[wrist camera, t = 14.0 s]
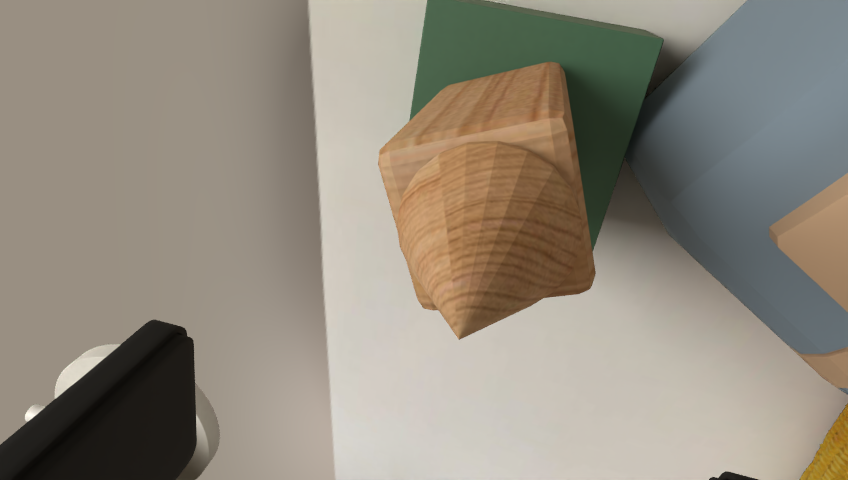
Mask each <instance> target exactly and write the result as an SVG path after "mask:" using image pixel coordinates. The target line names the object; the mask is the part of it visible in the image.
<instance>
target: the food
mask: <svg viewBox="0 0 848 480" xmlns="http://www.w3.org/2000/svg"><path fill="white" fill-rule="evenodd" d="M845 406H846V407H845V409H844V410H843V412H842V413H841V414H840V416H839V417H838V419H837V420H836V422H835V423H834V424H833V426H832V428H831V429H830V430H829V432H828V433H827V435H826V437H825V439H824V441H823V444H820V449H819V450H818V451H817V453H816V455H815V457H814V460H813V462H812V463H811V464H810V465H809V467H808V468H807V469H806V471H805V472H804V473H803V475H802V476H801V478H800V480H848V404H847V405H845Z"/></svg>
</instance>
